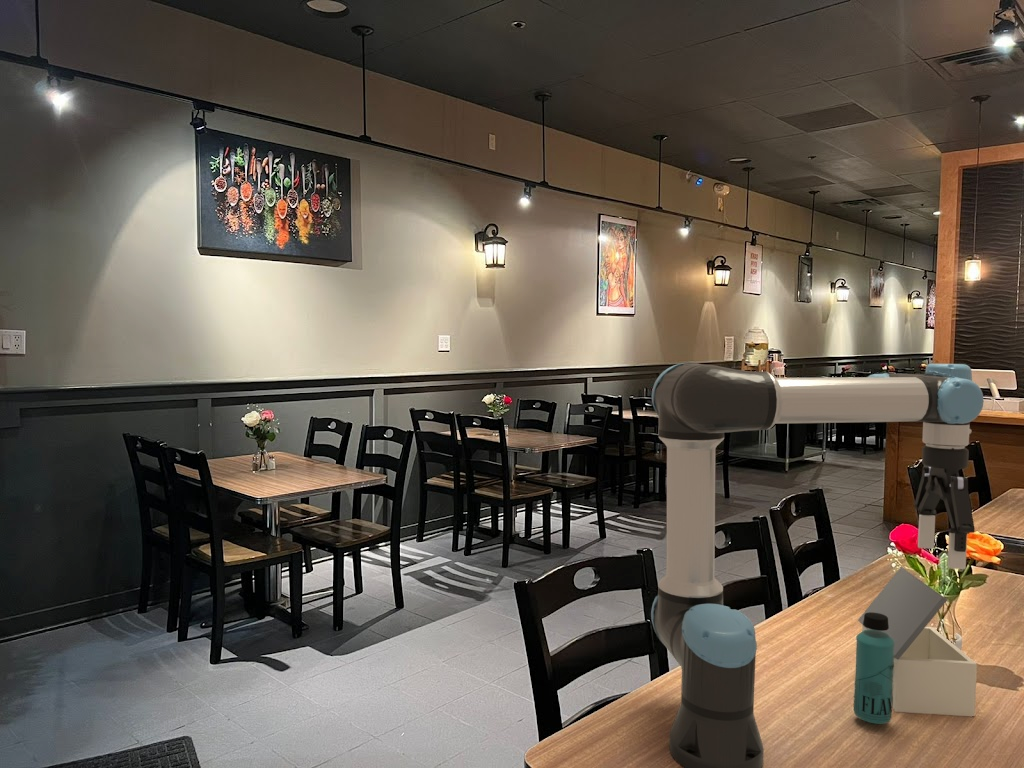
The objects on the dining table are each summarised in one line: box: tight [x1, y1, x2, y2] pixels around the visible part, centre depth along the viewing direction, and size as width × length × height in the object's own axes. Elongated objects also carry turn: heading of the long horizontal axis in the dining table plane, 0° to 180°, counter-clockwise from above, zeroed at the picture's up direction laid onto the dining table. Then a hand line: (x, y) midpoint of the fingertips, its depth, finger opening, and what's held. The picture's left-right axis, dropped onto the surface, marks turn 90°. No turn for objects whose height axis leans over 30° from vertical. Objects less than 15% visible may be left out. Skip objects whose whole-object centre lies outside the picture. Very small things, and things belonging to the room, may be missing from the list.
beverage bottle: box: [852, 612, 894, 725], centre depth 134 cm, size 6×7×20 cm
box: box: [861, 624, 978, 717], centre depth 147 cm, size 14×18×10 cm
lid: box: [857, 566, 948, 660], centre depth 147 cm, size 14×19×1 cm
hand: (940, 557), depth 141 cm, fingers open, 13 cm apart
